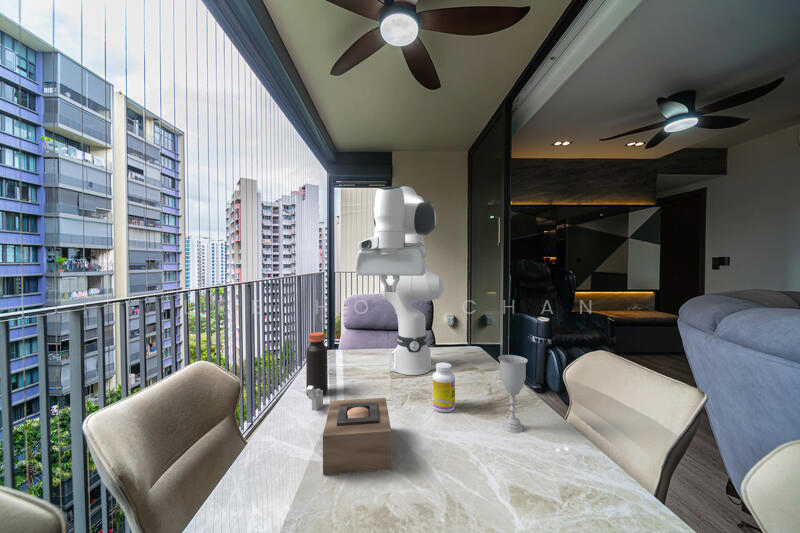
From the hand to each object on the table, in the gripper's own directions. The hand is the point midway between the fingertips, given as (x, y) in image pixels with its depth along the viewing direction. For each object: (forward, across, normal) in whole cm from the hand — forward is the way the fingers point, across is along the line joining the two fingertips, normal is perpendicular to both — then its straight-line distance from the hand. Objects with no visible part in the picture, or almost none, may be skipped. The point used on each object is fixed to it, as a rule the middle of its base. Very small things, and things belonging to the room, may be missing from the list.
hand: (390, 291), depth 86 cm
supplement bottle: (+35, -14, -8) cm, 39 cm away
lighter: (+35, +23, +3) cm, 42 cm away
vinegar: (+35, +28, -7) cm, 45 cm away
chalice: (+35, -33, -2) cm, 48 cm away
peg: (+35, +3, +17) cm, 39 cm away
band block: (+35, +3, +17) cm, 39 cm away
